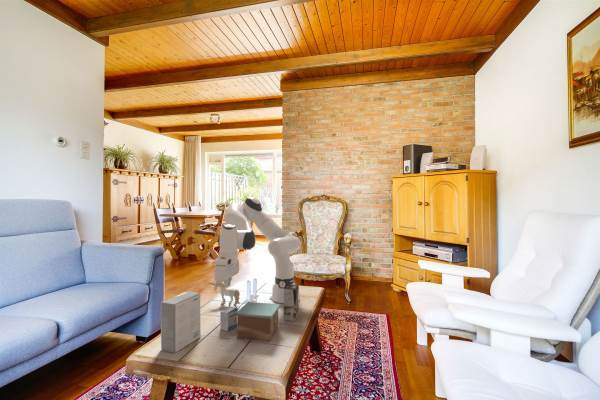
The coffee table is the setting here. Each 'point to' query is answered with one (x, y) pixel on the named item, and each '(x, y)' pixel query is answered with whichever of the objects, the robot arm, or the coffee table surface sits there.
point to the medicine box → (228, 318)
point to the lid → (258, 310)
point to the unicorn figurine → (227, 293)
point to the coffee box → (291, 302)
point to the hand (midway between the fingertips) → (227, 286)
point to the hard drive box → (180, 321)
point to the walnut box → (257, 328)
